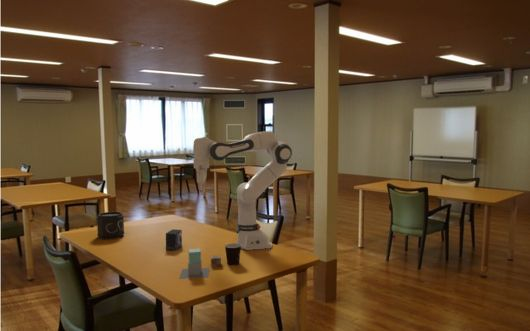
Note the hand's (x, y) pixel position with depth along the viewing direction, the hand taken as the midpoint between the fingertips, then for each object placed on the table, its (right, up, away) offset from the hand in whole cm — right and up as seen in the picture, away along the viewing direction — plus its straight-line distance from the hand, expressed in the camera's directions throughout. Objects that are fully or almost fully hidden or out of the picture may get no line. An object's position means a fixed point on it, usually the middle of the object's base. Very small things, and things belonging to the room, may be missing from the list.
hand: (201, 188), depth 232 cm
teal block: (+1, -34, -32) cm, 47 cm away
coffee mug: (+20, -39, -15) cm, 47 cm away
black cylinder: (-69, -35, +43) cm, 88 cm away
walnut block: (+11, -40, -20) cm, 46 cm away
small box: (-19, -37, +14) cm, 44 cm away
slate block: (+2, -40, -32) cm, 51 cm away
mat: (+2, -41, -32) cm, 52 cm away
